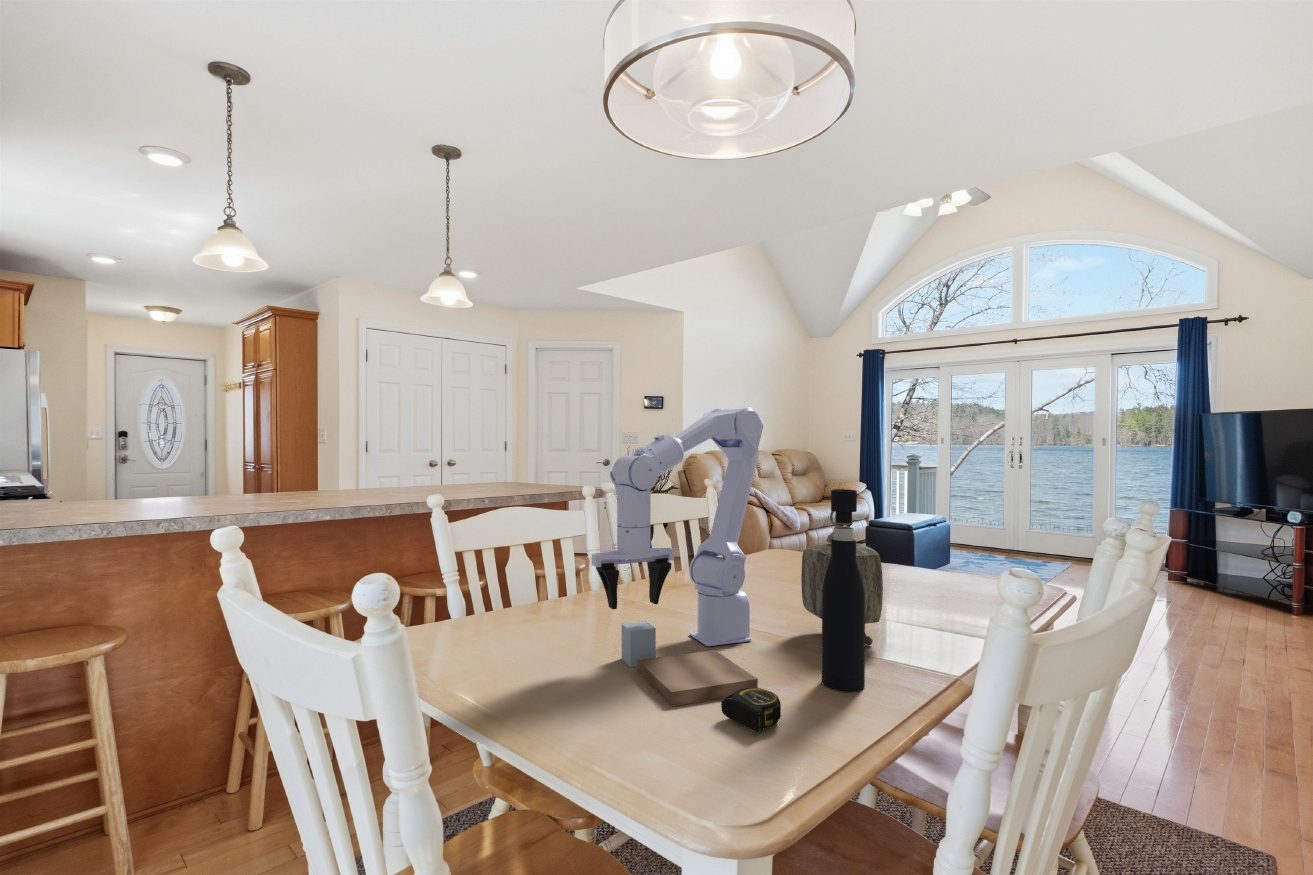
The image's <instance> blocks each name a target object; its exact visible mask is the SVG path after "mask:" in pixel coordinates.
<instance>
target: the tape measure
mask: <svg viewBox="0 0 1313 875" xmlns="http://www.w3.org/2000/svg"><path fill="white" fill-rule="evenodd" d="M781 705H782V704H781V700H780V698H779V696H778V695H777V694H775V693H774V692H773V691H770V690H769V689H765V688H761V687H758V688H743V689H739V690H737V691H735V692H734V693H733V694H731V695H729V696H727V697H725V698H722V700H721V704H720V706H721V708H720V709H721V712H722V714H723V715H724V716H725V717H727V718H728V719H730V720H731V721H734V722H735V723H737V724H739V725H741V726H743V727H745V728H748V729H749V730H750V731H752V732H755V733H760V732H762V731H763V730H764V729H770V728H773V727H775V726H776V725H777V724H778V723H779V721H780V720H781V717H782V712H781V710H782V708H781Z"/></svg>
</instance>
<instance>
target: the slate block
mask: <svg viewBox="0 0 1313 875" xmlns="http://www.w3.org/2000/svg"><path fill="white" fill-rule="evenodd" d="M656 638H657V637H656V627H655V626H653V625H652V624H650V622H648V621H647V620H644V621H636V622H635V621H634V622H627V623H626V622H625V623H621V660H622V661H623V662H624V663H625V664H627V666H629V668H633V667H635V668H636V667H637V660H642V659H649V658H657V657H656V654H657V652H656V644H657V643H656V642H657V641H656Z"/></svg>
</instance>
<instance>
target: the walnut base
mask: <svg viewBox="0 0 1313 875" xmlns="http://www.w3.org/2000/svg"><path fill="white" fill-rule="evenodd" d="M636 667H637V674H638V675H639V676H641V678H642V679H643V680H644V681H646V683H647V684H648V685H649V686H650V687H651V688H653V690H654V691H655V692H657V693H658V695H659V696H660V697H661V698H662V699H663V700H664V701H665V702H666V703H667V704H669V705H670V706H671V707H676V706H681V705H683V706H684V705H689V704H693V703H701V702H707V701H712V700H718V699H724V698H725V697H727V696H729V695H731V694H733V693H734V692H735V691H737V690H739V689H743V688H759V685H758V684H759V680H758V679H759V678H757V677H755V676H754V675H753V674H752V673H750V672H748V671H747V670H746V669H744V668H742V667H741V666H739V665H738V664H736V663H735V662H733V661H732V660H730V659H729V658H727V657H726V656H725V655H723V654H722V653H720V652H718V651H717V650H716V649H711V650H705V651H702V650H701V651H695V652H689V653H681V654H673V655H666V656H659V657H658V656H657V657H656V658H649V659H642V660H637V666H636Z"/></svg>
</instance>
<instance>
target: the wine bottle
mask: <svg viewBox="0 0 1313 875" xmlns="http://www.w3.org/2000/svg"><path fill="white" fill-rule="evenodd" d="M857 494H858V491H857V490H856V489H848V488H847V489H843V488H841V489H840V488H837V489H834V488H833V489H831V490H830V512H831V511H835V512H834V513H835V514H834V515H835V519H834V520H835V521H834V522H835V524H836V525H841V526H850V525H851V526H853V524H854V523H853V513H856V512H858V508H857V507H858V503H857V502H858V495H857ZM851 526H850V527H835V526H833V529H832V532H834V534H833V537H834V539H832V540H831V559H830V561H829V564H828V567H827V570H826V573H825V578H824V582H823V588H822V619H821V683H822V685H823V686H825V687H826V688H828V689H830V690H834V691H837V692H843V693H857V692H860V691H862V690H864V689H865V684H866V683H865V679H866V678H865V676H866V674H865V673H866V672H865V671H866V669H865V668H866V667H865V666H866V648H865V647H866V644H865V633H866V624H865V589H864V583H863V578H862V574H861V571H860V568H859V565H858V562H857V559H856V543H857V540H856V539H855V538H856V537H855V533H856V531H855V529H854V527H851Z"/></svg>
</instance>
